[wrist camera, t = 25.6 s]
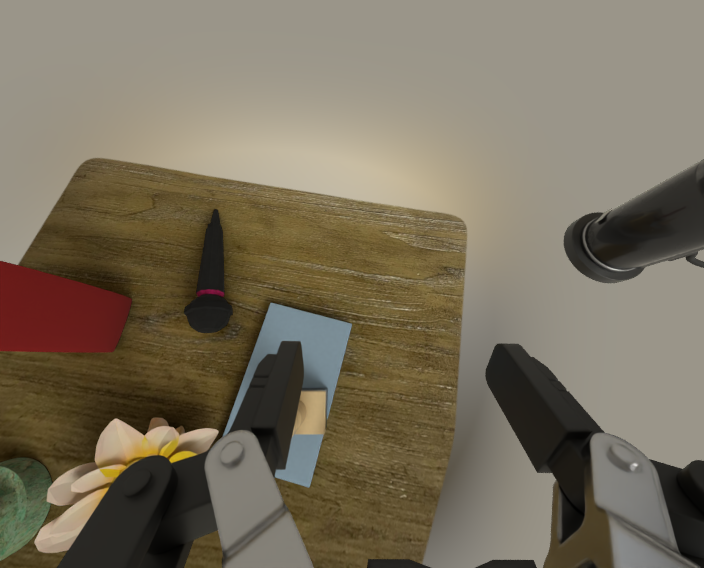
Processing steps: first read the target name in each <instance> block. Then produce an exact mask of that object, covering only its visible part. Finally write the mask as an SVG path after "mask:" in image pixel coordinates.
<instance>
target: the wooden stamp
mask: <svg viewBox="0 0 704 568" xmlns="http://www.w3.org/2000/svg"><path fill="white" fill-rule="evenodd" d="M327 403H328V388H302V390H301V395H300V400H299V405H298V410H297V415H296V420H295V425H294V430H293V434H292V437H293V436H294V434H325V430H326V427H327Z"/></svg>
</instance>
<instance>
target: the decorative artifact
mask: <svg viewBox="0 0 704 568" xmlns="http://www.w3.org/2000/svg"><path fill="white" fill-rule="evenodd" d="M51 485H52V481H51V477H50V475H49V472H48V471H47V469H46V468H45V467H44V466H43V465H42V464H41V463H40V462H38V461H36V460H34V459H31V458H14V459H10V460H7V461H4V462H0V561H1V560H2V559H4V558H6V557H8V556H9V555H11V554H13V553H14V552H16V551H18V550H19V549H20V548H22V547H23V546H24V545H26V544H27V543H28V542H29V541H30V540H31V539H32V538H33V536H34V535H35V534H36V533H37V532H38V530H39V529H40V527H41V526H42V524H43V522H44V520H45V518H46V516H47V514H48V512H49V509H50V505H51V503H49V502H47V493H48V488H49V487H50V486H51Z"/></svg>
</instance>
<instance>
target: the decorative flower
mask: <svg viewBox="0 0 704 568" xmlns="http://www.w3.org/2000/svg"><path fill="white" fill-rule="evenodd" d="M218 432H219V431H218V430H216V429H210V428H204V429H198V430H194V431H191V432H187V433H185V430H184V428H183V426H180V427H178V428H176V429H174V427H169V425H168V423H167V421H166V420H165V419H163V418H152V419H151V422H150V425H149V428H148V432H147V434H145V436H144V435H142V434H141V433H140V432H138V431H137V430H135V429H134V428H132V427H131V426H129V425H128V424H126V423H124V422H123V421H121V420H119V419H114V420H113V421H111V422H110V423H109V424H108V426H107V427H106V428H105V429H104V431H103V432H102V433H101V435H100V438H99V440H98V443H97V446H96V453H95V463H87V464H84V465H80V466H78V467H76V468H73V469H71V470H69V471H67V472H66V473H64V474H63V475H61V476H60V477H59V478H57V480H56V481H55V482H54V483H53V484H52V485H51V486H50V487H49V488H48V493H47V502H49V503H52V504H55V505H58V506H63V505H70V504H74V503H76V504H74V505H73V506H72V507H70V508H69V509H68V510H67V511H66V512H64V513H63V514H62V515H61V516H59V517H58V518H56V519H55V520H53V521H52V522H50V523H49V524H47V525H46V526H44V527H43V528H41V530H40V532H39V534H38V536H37V538H36V540H35V545H36V547H37V549H38V551H41V552H44V553H57V552H61V551H65V550H69V548H70V547H71V545H72V544H73V542H74V541H75V539H76V538H77V536H78V535H79V533H80V532H81V530H82V528H83V527H84V525H85V524H86V522H87V521H88V519H89V518H90V516H91V515H92V513H93V512H94V510H95V509H96V507H97V506H98V504H99V503H100V501H101V499H102V498H103V496H104V495H105V493H106V492H107V490H108V489H109V487H110V486H111V484H112V483H113V482H114V480H115V479H116V478H117V477H118V476H119V475H120V474H121V473H122V472H123V471H124V470H125V469H127V468H128V467H129V466H130V465H132V464H133V463H135V462H137V461H139V460H140V459H143V458H145V457H148V456H153V455H161V456H164V457H166V458H167V459H168V460H169V461H170V462H171V463H173V462H176V461H179V460H182V459H185V458H188V457H191V456H195V455H198V454H201V453H203V452H206V451H207V450H208V449H209V447H210V446H211V444H212V443H213V441H214V440H215V438H216V436H217V434H218Z"/></svg>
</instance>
